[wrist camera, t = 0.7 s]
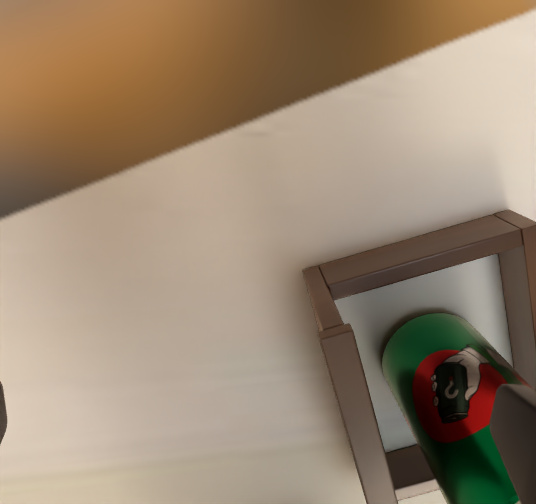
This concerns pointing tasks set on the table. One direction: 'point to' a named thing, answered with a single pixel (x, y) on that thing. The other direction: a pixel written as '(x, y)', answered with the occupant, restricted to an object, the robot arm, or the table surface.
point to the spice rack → (398, 269)
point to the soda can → (452, 404)
